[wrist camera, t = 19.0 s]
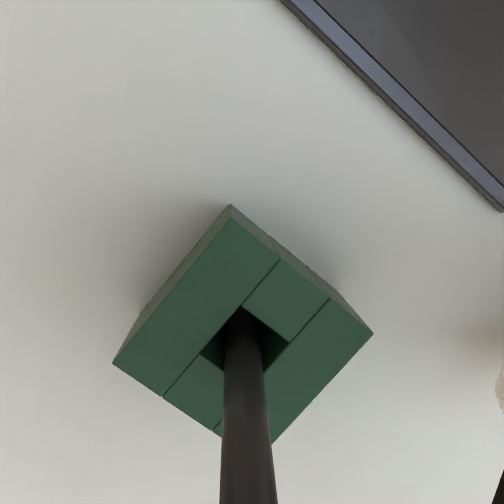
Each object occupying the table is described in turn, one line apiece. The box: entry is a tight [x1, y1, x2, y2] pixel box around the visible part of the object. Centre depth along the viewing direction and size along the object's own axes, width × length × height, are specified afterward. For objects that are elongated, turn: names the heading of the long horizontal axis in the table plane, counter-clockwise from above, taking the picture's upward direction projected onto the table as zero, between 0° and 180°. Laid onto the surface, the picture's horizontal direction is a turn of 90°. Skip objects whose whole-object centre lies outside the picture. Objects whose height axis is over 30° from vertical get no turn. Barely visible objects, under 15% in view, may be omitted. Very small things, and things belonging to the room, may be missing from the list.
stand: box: [112, 204, 373, 445], centre depth 18 cm, size 7×7×5 cm
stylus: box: [219, 305, 278, 504], centre depth 13 cm, size 1×1×14 cm
